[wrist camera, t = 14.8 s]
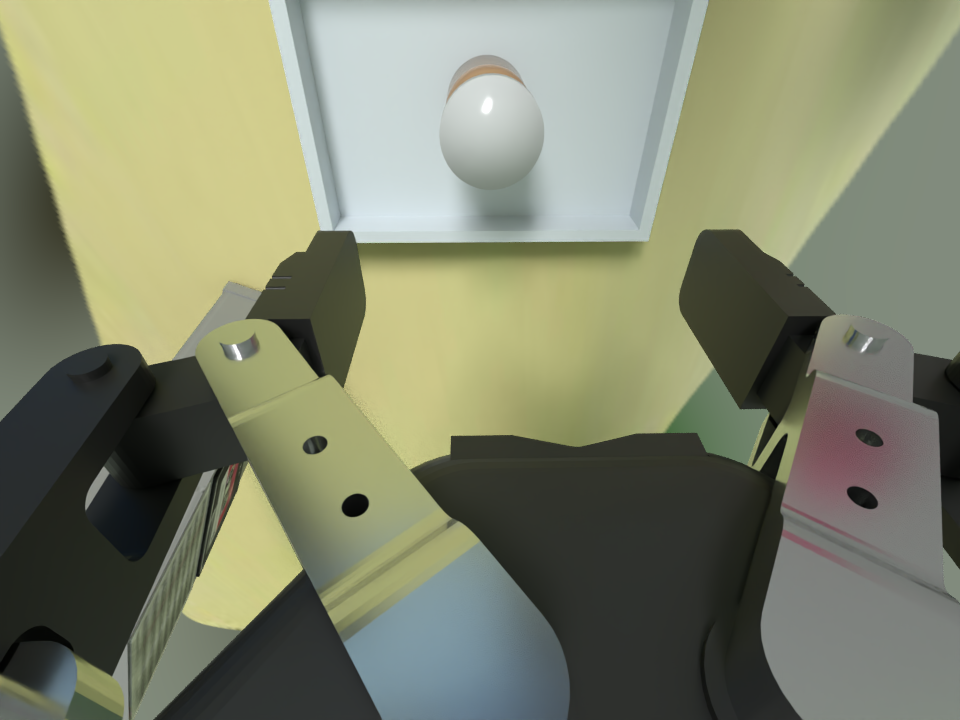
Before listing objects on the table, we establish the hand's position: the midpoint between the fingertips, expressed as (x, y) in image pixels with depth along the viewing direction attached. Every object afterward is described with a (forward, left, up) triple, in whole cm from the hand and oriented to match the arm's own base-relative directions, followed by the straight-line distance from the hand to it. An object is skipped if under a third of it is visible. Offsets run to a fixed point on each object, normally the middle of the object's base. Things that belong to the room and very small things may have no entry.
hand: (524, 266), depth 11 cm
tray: (+1, 0, -22) cm, 22 cm away
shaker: (+1, 0, -22) cm, 22 cm away
